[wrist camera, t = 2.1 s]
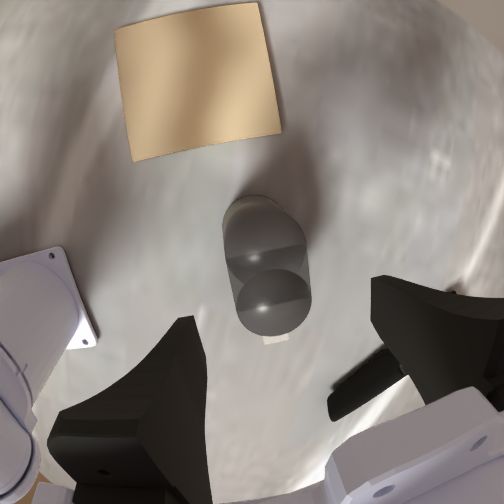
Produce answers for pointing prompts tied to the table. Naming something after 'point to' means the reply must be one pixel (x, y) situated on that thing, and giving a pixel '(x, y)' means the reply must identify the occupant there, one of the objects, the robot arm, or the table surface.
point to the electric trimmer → (365, 384)
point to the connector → (266, 267)
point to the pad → (195, 80)
